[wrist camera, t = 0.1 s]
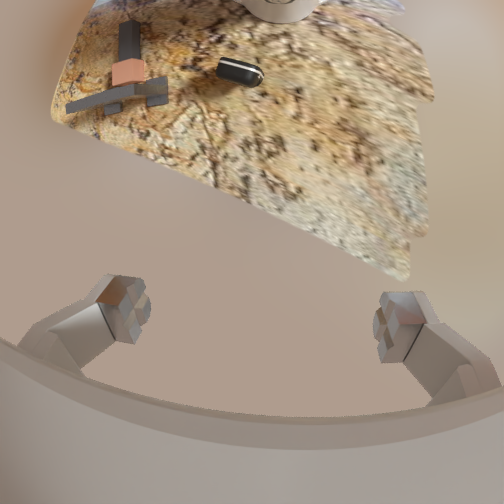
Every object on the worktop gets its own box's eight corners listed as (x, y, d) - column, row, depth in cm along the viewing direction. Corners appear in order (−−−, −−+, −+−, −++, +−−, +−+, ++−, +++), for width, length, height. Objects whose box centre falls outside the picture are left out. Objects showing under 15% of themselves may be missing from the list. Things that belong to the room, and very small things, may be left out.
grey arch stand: (105, 91, 47) (65, 94, 35) (167, 76, 45) (133, 72, 33) (107, 115, 50) (67, 123, 38) (168, 103, 48) (135, 106, 36)
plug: (124, 27, 39) (112, 24, 35) (143, 21, 38) (132, 17, 34) (124, 85, 46) (112, 85, 42) (144, 81, 46) (132, 80, 42)
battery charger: (225, 81, 45) (209, 76, 36) (231, 64, 43) (217, 55, 34) (259, 91, 46) (252, 88, 36) (266, 74, 44) (260, 66, 34)
